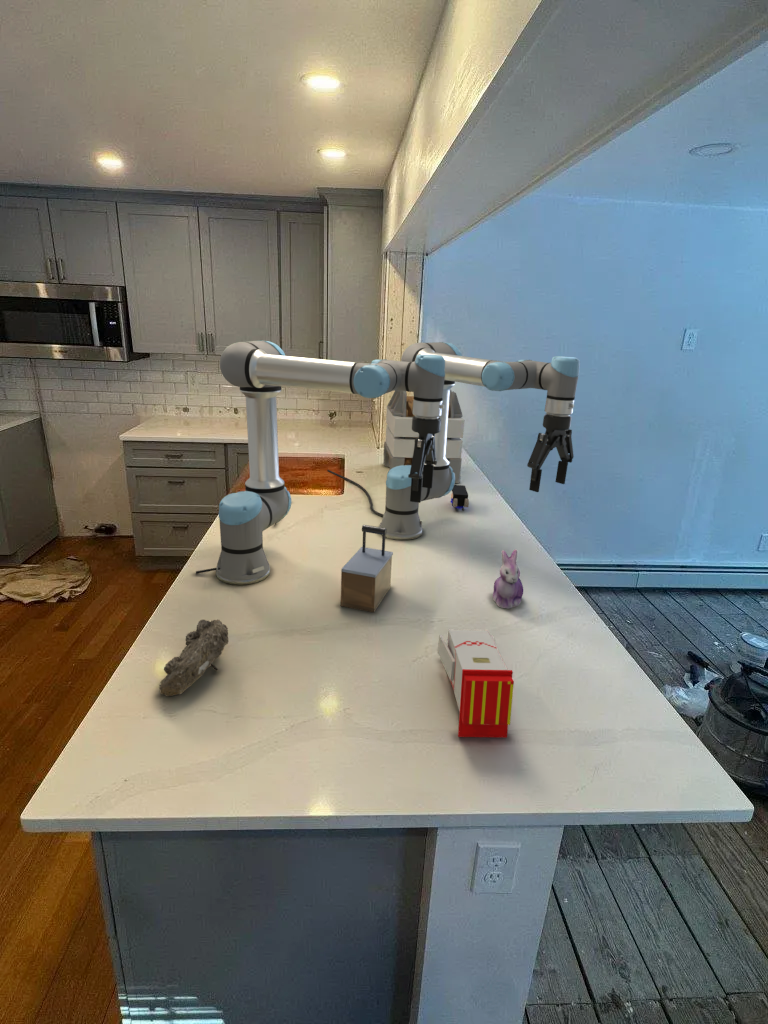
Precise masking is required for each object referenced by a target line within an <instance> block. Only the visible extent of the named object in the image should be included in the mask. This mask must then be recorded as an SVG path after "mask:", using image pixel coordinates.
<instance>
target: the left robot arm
mask: <svg viewBox="0 0 768 1024" xmlns="http://www.w3.org/2000/svg"><path fill="white" fill-rule="evenodd" d="M219 369H220V373H221V375H222V376H223V379H225V380H226V381H227V382H228V383H229V384H231V385H232V386H235V387H238V388H239V391H240V393H242V394H243V395H244V397H245V409H246V429H247V430H246V431H247V447H248V448H247V449H248V467H249V469H248V470H249V478H248V479H246V480H245V482H244V488H245V489H244V490H242V491H241V490H240V491H237V492H231V493H229V494H227V495H225V496H224V497H222V498H221V500H220V502H219V504H218V519H219V534H220V535H219V536H220V554H219V558H218V561H217V564H216V567H212V568H206V569H201V570H196V571H195V574H196V575H197V574H203V573H208V572H213V571H215V576H216V579H217V580H218V581H220V582H222V583H225V584H228V585H235V586H237V585H238V586H241V585H243V586H244V585H245V586H246V585H250V584H255V583H259V582H261V581H263V580H265V579H266V578H267V577H269V575H270V574H271V566H270V562H269V560H268V557H267V554H266V553H265V549H264V540H263V532H264V531H265V530H267V529H269V528H270V527H272V526H273V525H275V523H276V524H277V523H279V522H281V521H282V520H283V519H284V518H285V517H286V516H287V515H288V514H289V512H290V510H291V507H292V496H291V493H290V491H289V490H288V489H287V487H286V486H285V485H286V484H285V480H284V479H283V478H282V477H280V465H279V464H280V463H279V461H280V460H279V459H280V458H279V436H278V435H279V434H278V432H279V431H278V408H277V407H278V406H277V405H278V403H277V397H278V395H279V394H280V393H281V392H282V387H286V388H295V389H304V390H305V389H306V390H312V391H313V390H314V391H324V392H333V393H344V394H353V395H358V396H359V395H360V397H363V398H365V399H378V398H380V397H382V396H384V395H386V394H389V393H392V392H393V391H394V392H395V391H406V392H408V393H413V396H414V399H413V412H412V414H413V415H415V416H414V417H413V418H412V430H413V431H414V432H417V433H419V438H418V439H415V445H414V452H413V458H412V464H411V470H410V474H409V475H408V477H409V478H412V479H411V495H410V501H411V502H418V503H419V504H421V502H422V501H421V492H422V487H425V488H432V482H433V469H434V465H436V464H437V461H435V460H436V450H435V434H436V433H439V432H440V429H441V419H440V418H439V417H440V416H441V413H442V409H444V405H442V401H443V389H444V379H445V359H444V357H442V356H439V355H427V354H420V355H417V357H416V360H415V362H404V361H401V360H393V359H386V358H383V359H373V360H371V362H369V363H367V362H356V361H348V360H347V361H346V360H335V359H324V358H313V357H303V356H292V355H291V356H290V355H286V354H285V352H284V350H283V348H281V347H280V346H279V345H278V344H276V343H275V342H272V341H270V340H269V341H268V340H262V339H259V340H249V341H237V342H234V343H231V344H230V345H228V346H227V347H225V349H224V350H223V351H222V353H221V355H220V358H219ZM424 463H425V464H424ZM423 467H424V468H423ZM422 472H423V482H422Z"/></svg>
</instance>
